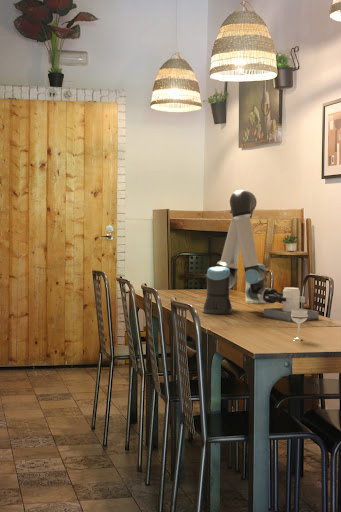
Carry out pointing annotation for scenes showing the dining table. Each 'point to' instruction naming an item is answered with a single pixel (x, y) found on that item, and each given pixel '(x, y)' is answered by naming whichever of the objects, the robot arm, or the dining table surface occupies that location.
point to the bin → (287, 314)
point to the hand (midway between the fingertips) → (297, 300)
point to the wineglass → (299, 317)
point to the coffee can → (250, 299)
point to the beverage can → (295, 296)
